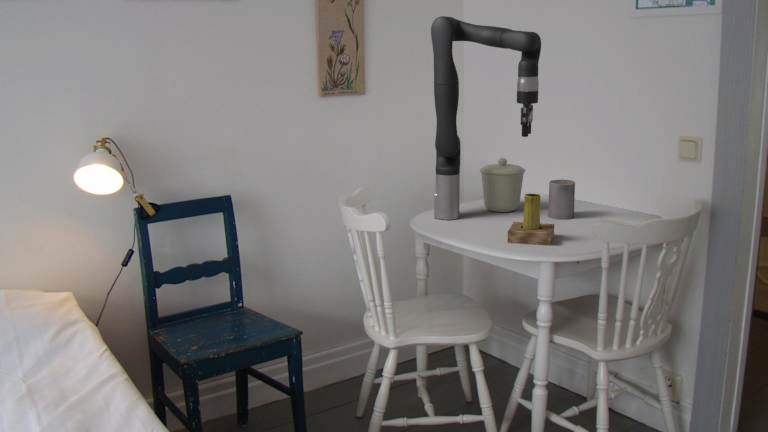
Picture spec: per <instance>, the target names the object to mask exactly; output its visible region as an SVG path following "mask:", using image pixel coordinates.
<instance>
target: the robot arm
mask: <svg viewBox="0 0 768 432" xmlns="http://www.w3.org/2000/svg"><path fill="white" fill-rule="evenodd" d="M430 35H431V43H432V52H433V95H434V108H435V114H436V130H435V131H436V133H435V141H434V148H435V150H436V151H435V152H436V156H435V157H436V159H435V160H436V161H435V162H436V163H435V193H434V194H433V195H434V197H433V199H434V200H433V202H434V203H433V209H434V210H433V218H434V219H438V220H445V221H446V220H447V221H450V220H457V219H459V218H460V206H461V204H460V200H461V199H460V195H461V194H460V190H461V187H460V185H461V184H460V183H461V181H460V178H461V177H460V174H461V171H460V170H461V138H460V136H459V135H458V130H457V129H458V127H457V116H458V115H457V114H458V108H459V98H460V97H459V96H460V89H459V88H460V87H459V85H460V81H459V75H458V71H457V68H456V65H455V61H454V56H453V42H470V43H476V44H480V45H483V46H487V47H493V48H499V49H506V50H513V51H517V52H520V53H521V56H520V57H521V59H520V60H519V61H518V64H517V66H518V67H517V81H516V82H517V83H516V103H517V104H521V105H522V107H520V124H519V125H521V137H522V138H527V137H528V136H529V135H530V134H532V124H533V120H534V119H533V117H534V105H533V104H538V103H539V61H540V57H541V50H542V39H541V36H540V34H538V33H537V32H536V31H527V30H526V31H524V30H516V29H515V30H514V29H511V28H506V27H501V26H500V27H499V26H491V25H481V24H473V23H470V22H469V23H468V22H466V21H463V20H459V19H457V18H454V17H453V16H445V15H442V16H439V17H438V16H437V17H436V18H435V19H434V20H433V21H432V24H431V27H430Z"/></svg>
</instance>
